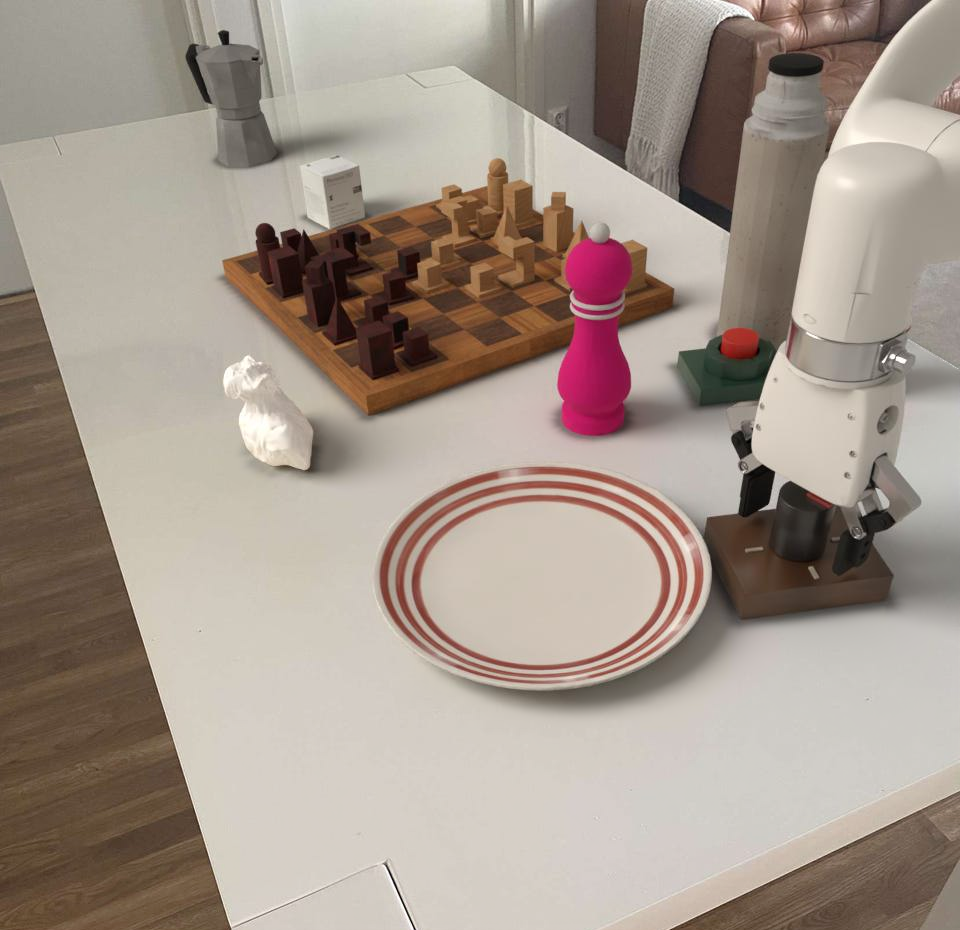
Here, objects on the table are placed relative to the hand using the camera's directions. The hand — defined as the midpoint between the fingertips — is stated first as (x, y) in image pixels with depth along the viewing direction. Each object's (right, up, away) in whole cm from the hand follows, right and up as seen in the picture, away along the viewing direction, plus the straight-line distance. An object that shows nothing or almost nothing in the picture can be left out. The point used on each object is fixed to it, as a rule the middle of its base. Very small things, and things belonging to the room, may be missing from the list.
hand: (798, 537), depth 81 cm
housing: (+1, +19, +24) cm, 31 cm away
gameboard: (-31, +34, +42) cm, 62 cm away
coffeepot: (-64, +68, +79) cm, 123 cm away
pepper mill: (-14, +14, +20) cm, 29 cm away
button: (+1, +21, +22) cm, 30 cm away
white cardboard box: (-46, +51, +60) cm, 91 cm away
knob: (0, 0, 0) cm, 1 cm away
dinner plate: (-21, -4, +3) cm, 21 cm away
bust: (-46, +10, +19) cm, 50 cm away
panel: (0, -3, +3) cm, 4 cm away
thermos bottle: (+5, +25, +31) cm, 40 cm away
